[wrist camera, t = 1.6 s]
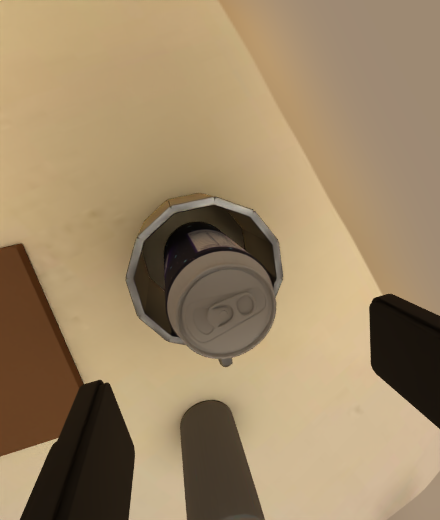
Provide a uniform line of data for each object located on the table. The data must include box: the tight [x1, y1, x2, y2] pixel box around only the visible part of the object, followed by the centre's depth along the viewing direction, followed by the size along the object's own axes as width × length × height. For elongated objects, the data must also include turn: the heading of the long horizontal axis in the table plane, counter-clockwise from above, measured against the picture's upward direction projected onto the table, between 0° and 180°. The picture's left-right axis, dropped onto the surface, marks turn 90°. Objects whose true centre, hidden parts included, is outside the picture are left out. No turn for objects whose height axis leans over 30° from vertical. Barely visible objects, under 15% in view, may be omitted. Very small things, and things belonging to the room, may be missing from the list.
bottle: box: [180, 401, 265, 520], centre depth 22 cm, size 6×6×15 cm
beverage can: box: [164, 222, 276, 359], centre depth 18 cm, size 6×6×12 cm
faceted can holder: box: [126, 193, 283, 367], centre depth 21 cm, size 13×10×7 cm
